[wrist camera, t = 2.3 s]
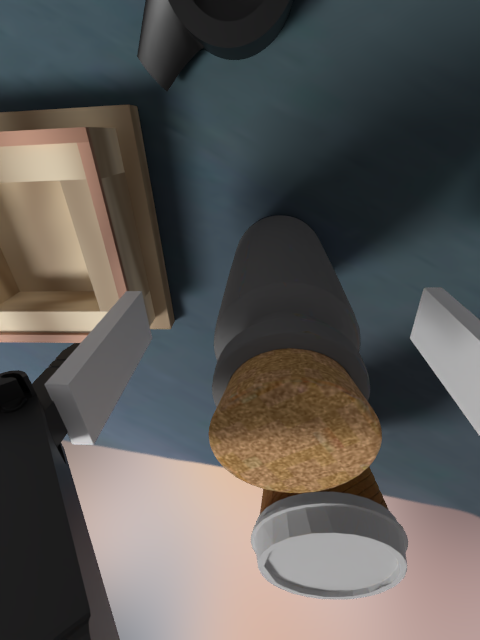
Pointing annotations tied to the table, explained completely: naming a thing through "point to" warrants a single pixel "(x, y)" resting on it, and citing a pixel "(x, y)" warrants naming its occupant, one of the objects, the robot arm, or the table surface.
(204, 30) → the dark winged oval cup
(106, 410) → the robot arm
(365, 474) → the disposable coffee cup
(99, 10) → the table surface
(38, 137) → the holder block
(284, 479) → the bottle
